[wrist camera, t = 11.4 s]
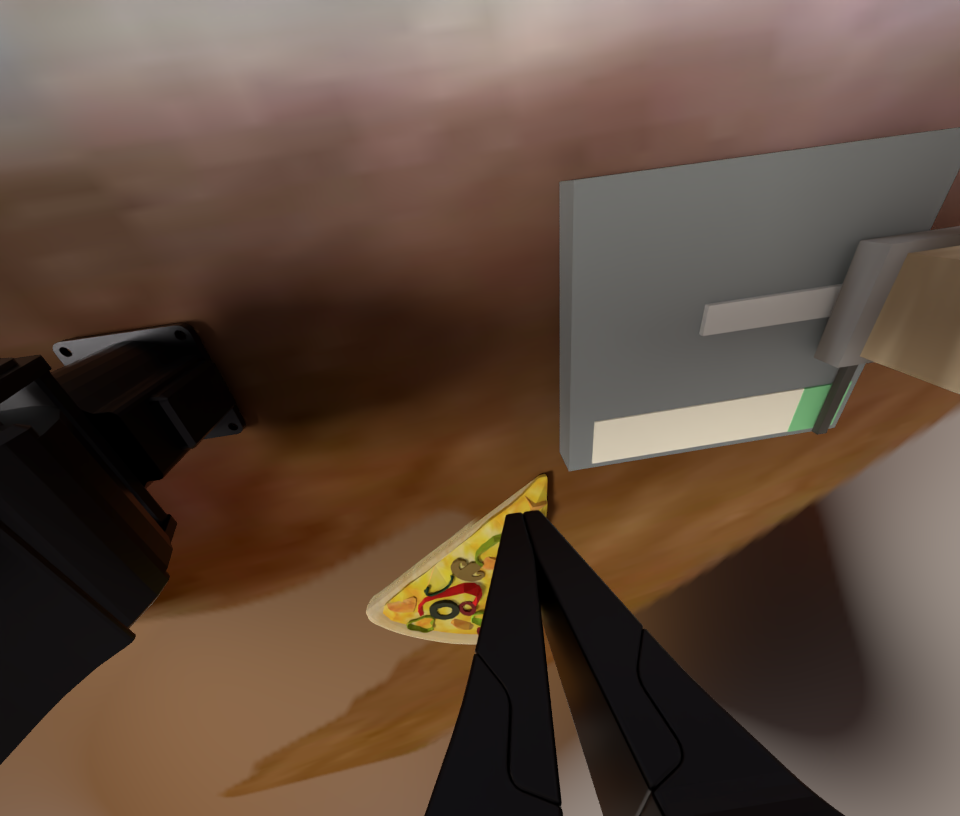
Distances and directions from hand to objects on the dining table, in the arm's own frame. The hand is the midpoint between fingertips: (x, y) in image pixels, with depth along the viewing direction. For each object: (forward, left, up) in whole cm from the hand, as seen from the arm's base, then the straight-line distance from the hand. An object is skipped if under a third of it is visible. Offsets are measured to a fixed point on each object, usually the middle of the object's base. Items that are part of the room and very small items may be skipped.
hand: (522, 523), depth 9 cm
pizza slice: (-1, -20, -14) cm, 24 cm away
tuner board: (+14, -1, -13) cm, 19 cm away
